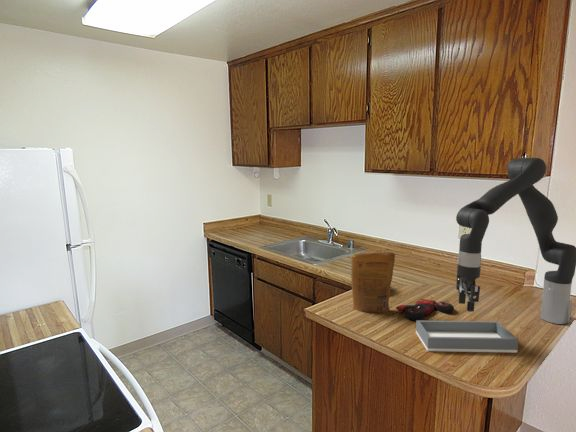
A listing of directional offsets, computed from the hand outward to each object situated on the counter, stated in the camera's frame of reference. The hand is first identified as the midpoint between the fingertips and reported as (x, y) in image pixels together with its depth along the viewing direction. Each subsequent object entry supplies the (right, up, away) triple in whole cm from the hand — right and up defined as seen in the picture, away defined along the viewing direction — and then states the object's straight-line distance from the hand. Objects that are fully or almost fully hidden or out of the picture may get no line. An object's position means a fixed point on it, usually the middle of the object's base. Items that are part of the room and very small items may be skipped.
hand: (465, 307), depth 132 cm
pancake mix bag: (-28, -10, +29) cm, 41 cm away
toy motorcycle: (-2, -9, +21) cm, 24 cm away
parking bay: (0, -14, +2) cm, 14 cm away
